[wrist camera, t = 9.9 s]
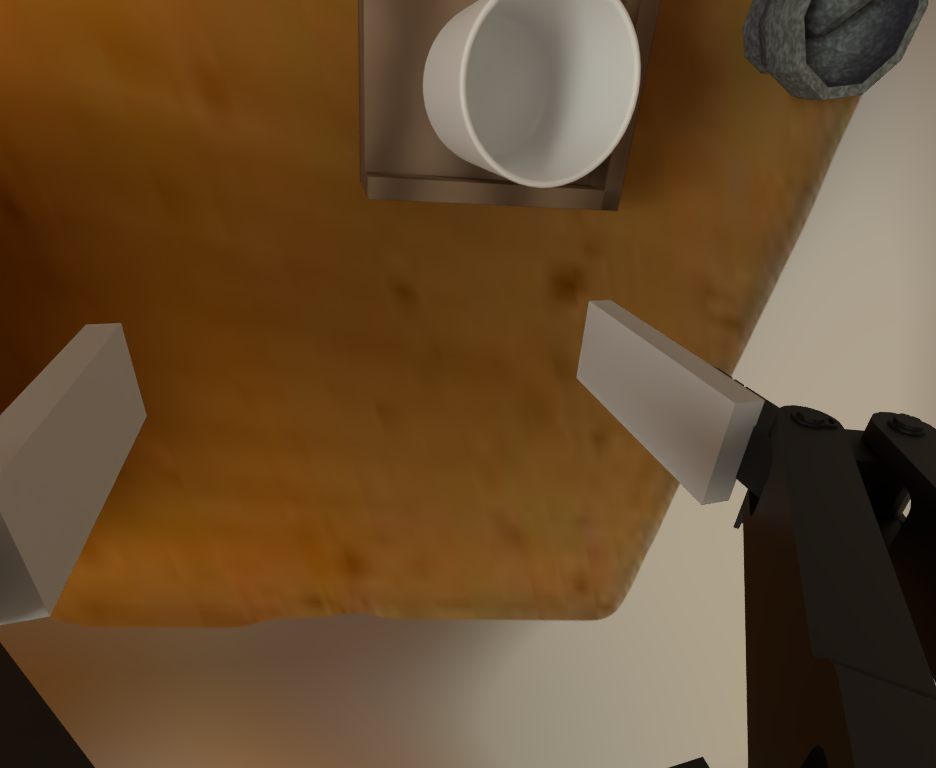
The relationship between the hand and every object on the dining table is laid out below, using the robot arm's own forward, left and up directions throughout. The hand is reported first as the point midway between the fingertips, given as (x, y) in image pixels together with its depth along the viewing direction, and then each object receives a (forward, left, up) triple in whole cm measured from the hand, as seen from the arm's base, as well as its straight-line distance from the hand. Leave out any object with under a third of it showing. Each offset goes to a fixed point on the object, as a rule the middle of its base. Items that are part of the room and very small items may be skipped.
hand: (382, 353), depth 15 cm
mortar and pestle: (+31, +15, -26) cm, 43 cm away
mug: (+9, +9, -21) cm, 24 cm away
